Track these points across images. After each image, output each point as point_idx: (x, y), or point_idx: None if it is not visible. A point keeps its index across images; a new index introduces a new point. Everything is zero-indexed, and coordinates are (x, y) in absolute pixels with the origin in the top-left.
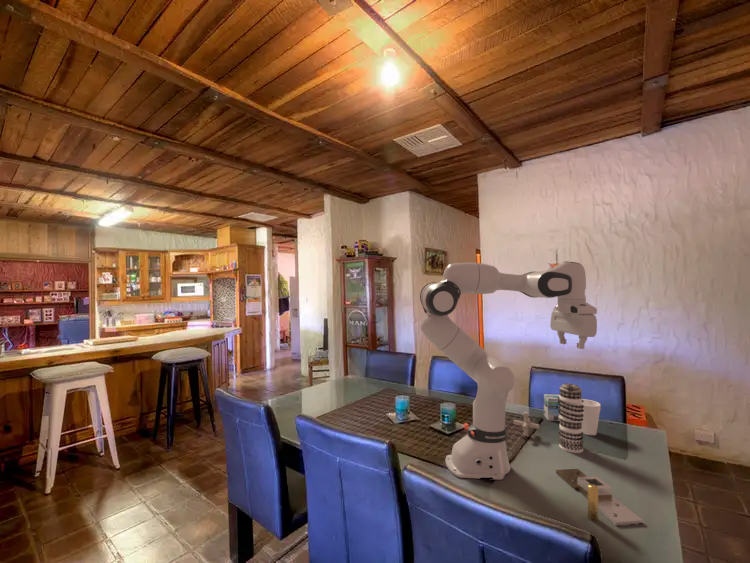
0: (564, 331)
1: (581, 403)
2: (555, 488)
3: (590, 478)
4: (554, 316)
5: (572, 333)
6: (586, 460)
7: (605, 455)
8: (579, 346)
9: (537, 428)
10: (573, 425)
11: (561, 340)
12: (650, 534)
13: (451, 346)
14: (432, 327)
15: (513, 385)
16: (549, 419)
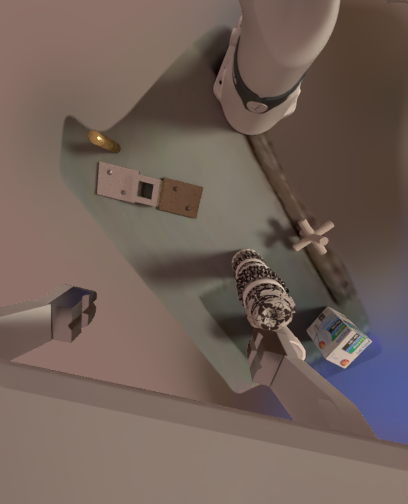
0: (201, 410)
1: (298, 353)
2: (174, 155)
3: (153, 194)
4: None
5: (17, 366)
6: (213, 252)
7: (214, 285)
8: (56, 289)
9: (293, 245)
10: (241, 269)
11: (268, 344)
12: (85, 185)
13: None
14: None
15: None
16: (326, 308)
